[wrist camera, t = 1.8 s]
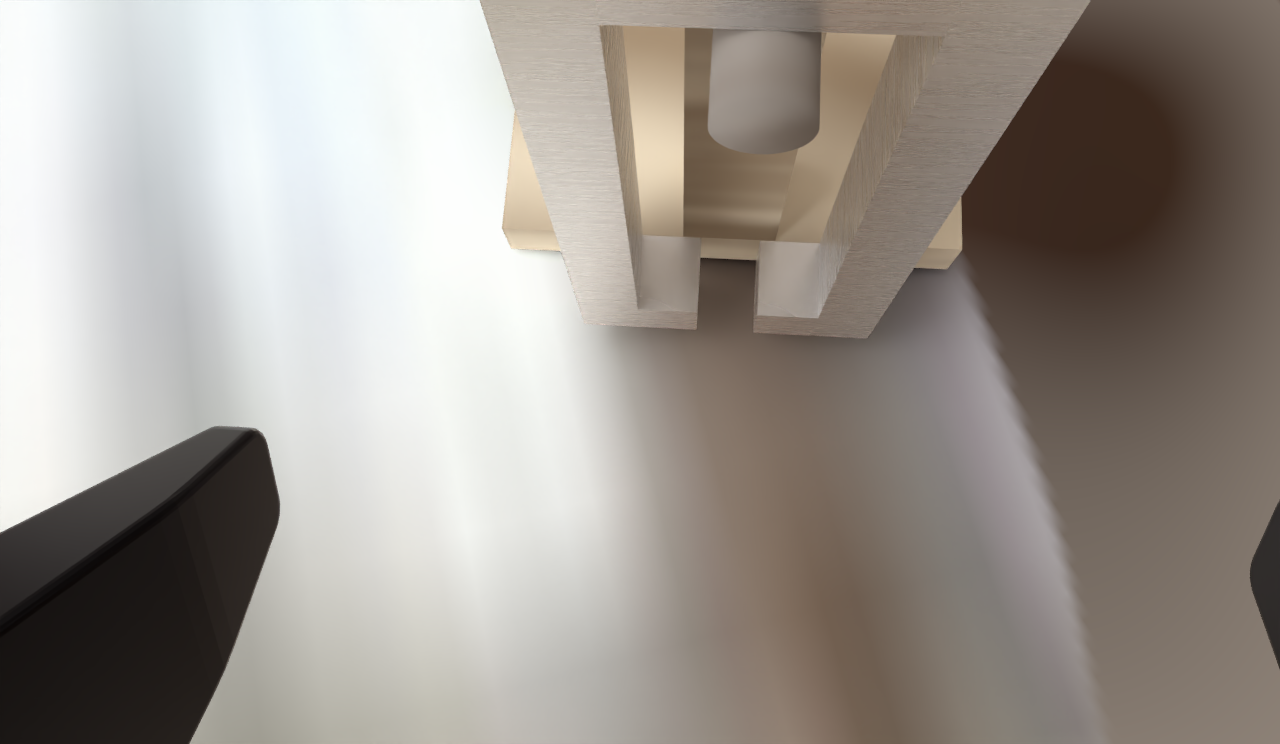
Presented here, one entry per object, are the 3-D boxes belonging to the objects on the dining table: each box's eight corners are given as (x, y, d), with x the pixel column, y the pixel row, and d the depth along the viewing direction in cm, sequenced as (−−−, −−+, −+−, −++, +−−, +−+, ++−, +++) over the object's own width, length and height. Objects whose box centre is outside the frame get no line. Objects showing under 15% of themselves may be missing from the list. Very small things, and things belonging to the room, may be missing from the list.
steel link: (867, 338, 20) (1114, -37, 9) (584, 323, 21) (461, -56, 9) (868, 267, 21) (1105, -183, 9) (590, 253, 21) (478, -196, 9)
